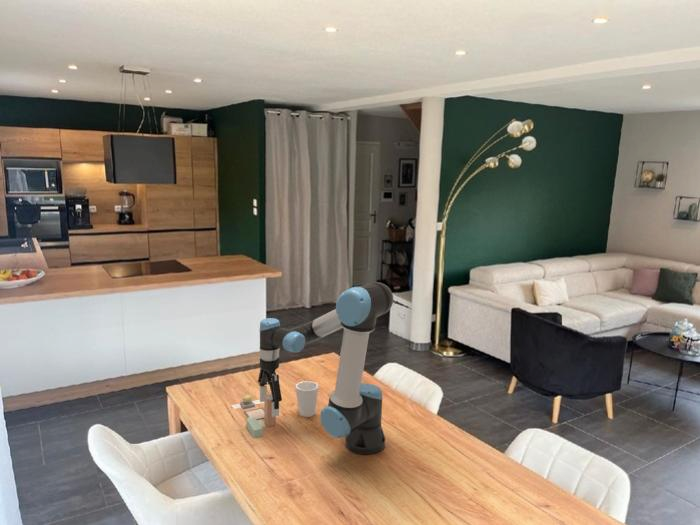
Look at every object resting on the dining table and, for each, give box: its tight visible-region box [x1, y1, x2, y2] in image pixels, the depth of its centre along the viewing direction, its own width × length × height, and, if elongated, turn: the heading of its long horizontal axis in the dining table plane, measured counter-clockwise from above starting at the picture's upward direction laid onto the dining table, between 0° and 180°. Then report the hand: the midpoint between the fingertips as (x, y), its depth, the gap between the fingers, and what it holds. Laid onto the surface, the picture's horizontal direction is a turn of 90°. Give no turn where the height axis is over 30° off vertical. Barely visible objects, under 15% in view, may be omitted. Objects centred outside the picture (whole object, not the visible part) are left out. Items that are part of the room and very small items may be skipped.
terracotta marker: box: [263, 393, 277, 428], centre depth 206 cm, size 3×3×12 cm
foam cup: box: [295, 380, 319, 418], centre depth 216 cm, size 10×9×13 cm
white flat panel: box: [230, 399, 267, 428], centre depth 214 cm, size 28×14×2 cm, turn 29°
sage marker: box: [245, 417, 264, 439], centre depth 201 cm, size 10×3×3 cm, turn 29°
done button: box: [242, 393, 253, 402], centre depth 222 cm, size 4×4×2 cm
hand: (269, 408), depth 207 cm, fingers open, 13 cm apart
